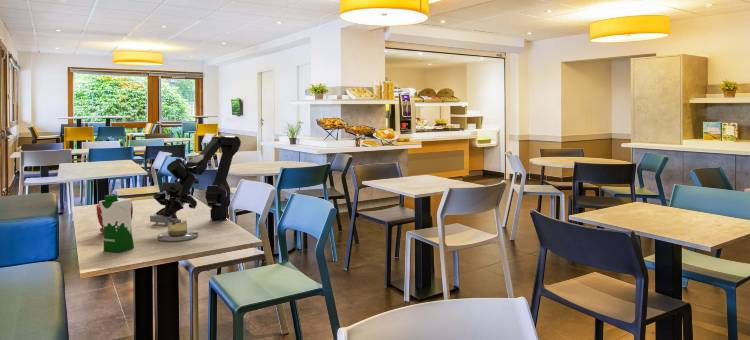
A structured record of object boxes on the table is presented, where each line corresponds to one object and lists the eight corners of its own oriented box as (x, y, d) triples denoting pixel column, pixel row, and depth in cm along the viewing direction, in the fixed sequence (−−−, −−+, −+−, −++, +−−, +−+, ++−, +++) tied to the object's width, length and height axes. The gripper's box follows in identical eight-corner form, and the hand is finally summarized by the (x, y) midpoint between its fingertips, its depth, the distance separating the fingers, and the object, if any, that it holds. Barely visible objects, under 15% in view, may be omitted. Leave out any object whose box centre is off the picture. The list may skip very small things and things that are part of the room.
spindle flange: (206, 234, 211) (205, 217, 211) (178, 243, 198) (177, 225, 197) (177, 231, 218) (177, 214, 217) (148, 239, 204) (147, 222, 203)
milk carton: (99, 251, 188) (95, 195, 185) (119, 245, 196) (115, 191, 194) (119, 253, 185) (115, 197, 182) (138, 247, 193) (135, 192, 191)
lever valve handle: (191, 232, 210) (190, 216, 209) (178, 236, 203) (178, 219, 202) (158, 228, 215) (158, 213, 214) (145, 232, 209) (145, 217, 208)
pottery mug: (175, 227, 227) (164, 211, 225) (158, 235, 229) (146, 220, 227) (186, 214, 238) (175, 199, 236) (169, 222, 240) (158, 208, 238)
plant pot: (90, 234, 212) (88, 205, 211) (118, 227, 224) (116, 199, 223) (114, 237, 207) (112, 207, 205) (141, 230, 219) (139, 201, 217)
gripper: (155, 172, 217) (134, 204, 208) (190, 175, 209) (170, 208, 201) (171, 189, 225) (151, 219, 216) (205, 192, 217) (186, 224, 209)
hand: (164, 217), depth 210 cm, fingers closed, pressing on lever valve handle
